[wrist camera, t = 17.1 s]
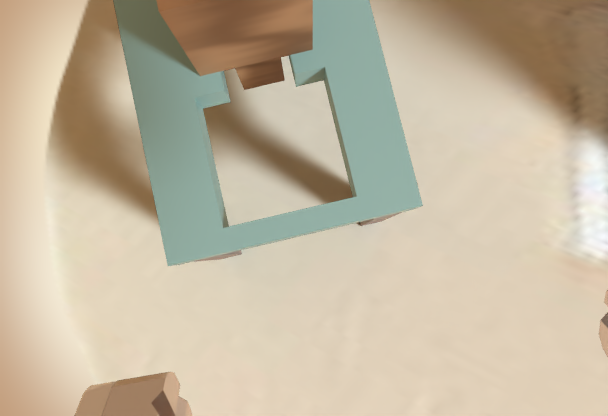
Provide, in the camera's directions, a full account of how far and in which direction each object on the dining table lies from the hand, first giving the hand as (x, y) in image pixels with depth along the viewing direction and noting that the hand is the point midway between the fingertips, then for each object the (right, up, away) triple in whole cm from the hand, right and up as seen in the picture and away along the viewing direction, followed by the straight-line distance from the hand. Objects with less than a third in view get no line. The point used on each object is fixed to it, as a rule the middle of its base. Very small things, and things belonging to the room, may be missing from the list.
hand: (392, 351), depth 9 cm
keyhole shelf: (-4, +9, +31) cm, 32 cm away
